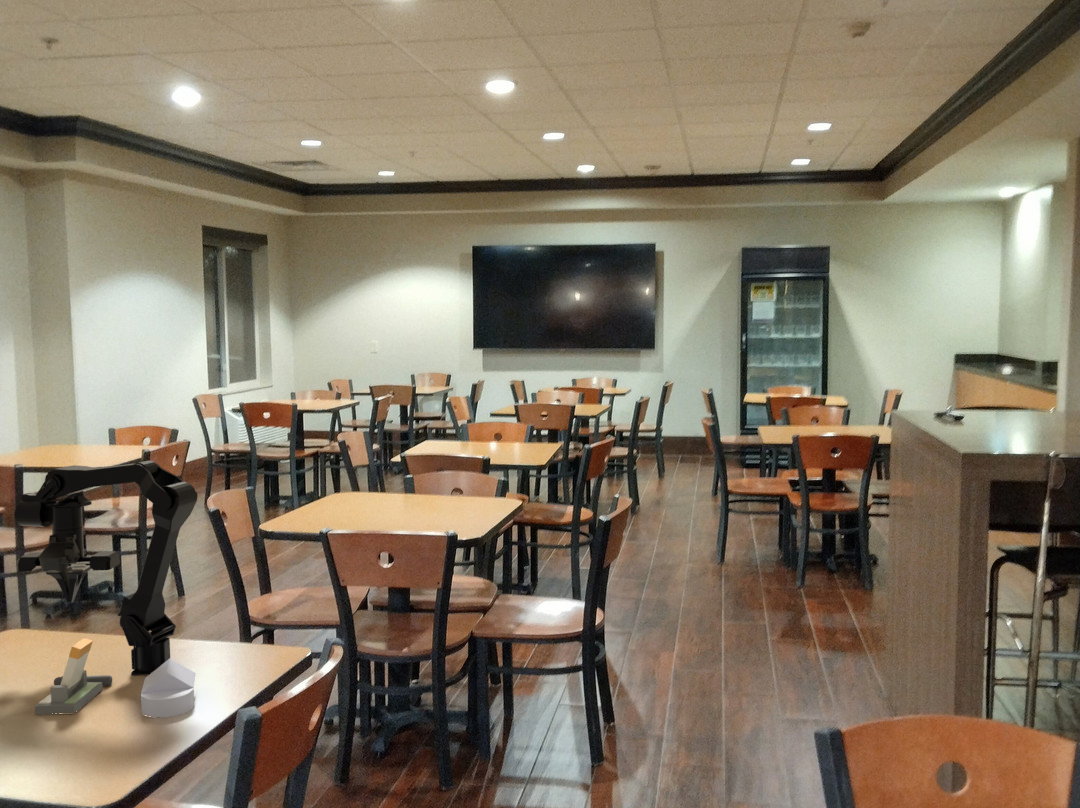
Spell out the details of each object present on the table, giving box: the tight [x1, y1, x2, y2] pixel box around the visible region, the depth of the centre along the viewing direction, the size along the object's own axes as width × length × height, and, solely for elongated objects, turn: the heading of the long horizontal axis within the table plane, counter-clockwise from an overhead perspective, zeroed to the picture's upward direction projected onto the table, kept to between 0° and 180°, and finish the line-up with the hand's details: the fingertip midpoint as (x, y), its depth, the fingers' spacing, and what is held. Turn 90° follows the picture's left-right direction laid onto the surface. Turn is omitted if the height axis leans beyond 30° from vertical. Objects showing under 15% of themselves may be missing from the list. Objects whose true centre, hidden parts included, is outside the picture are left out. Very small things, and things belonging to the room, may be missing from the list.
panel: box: [34, 669, 104, 715], centre depth 185 cm, size 7×12×4 cm, turn 1°
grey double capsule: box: [53, 674, 113, 687], centre depth 195 cm, size 11×3×2 cm, turn 91°
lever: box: [61, 637, 94, 694], centre depth 185 cm, size 2×6×10 cm, turn 1°
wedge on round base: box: [140, 658, 196, 719], centre depth 184 cm, size 9×7×13 cm
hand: (70, 602), depth 206 cm, fingers closed
